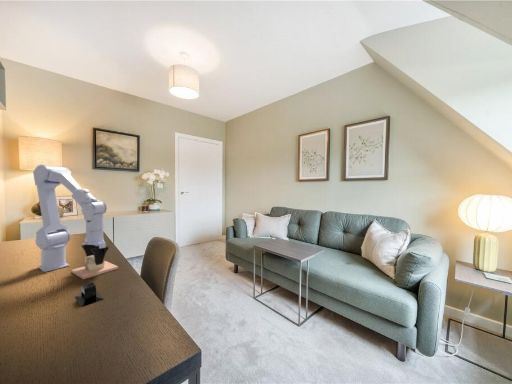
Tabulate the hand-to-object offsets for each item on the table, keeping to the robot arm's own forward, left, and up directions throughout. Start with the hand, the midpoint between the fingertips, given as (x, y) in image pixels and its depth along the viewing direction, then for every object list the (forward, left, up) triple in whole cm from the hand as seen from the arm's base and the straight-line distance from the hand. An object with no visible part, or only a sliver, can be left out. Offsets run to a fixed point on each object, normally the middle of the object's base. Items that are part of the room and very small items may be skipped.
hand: (95, 262), depth 86 cm
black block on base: (+23, -10, -4) cm, 26 cm away
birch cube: (0, 0, -2) cm, 2 cm away
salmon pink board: (0, 0, -3) cm, 3 cm away
